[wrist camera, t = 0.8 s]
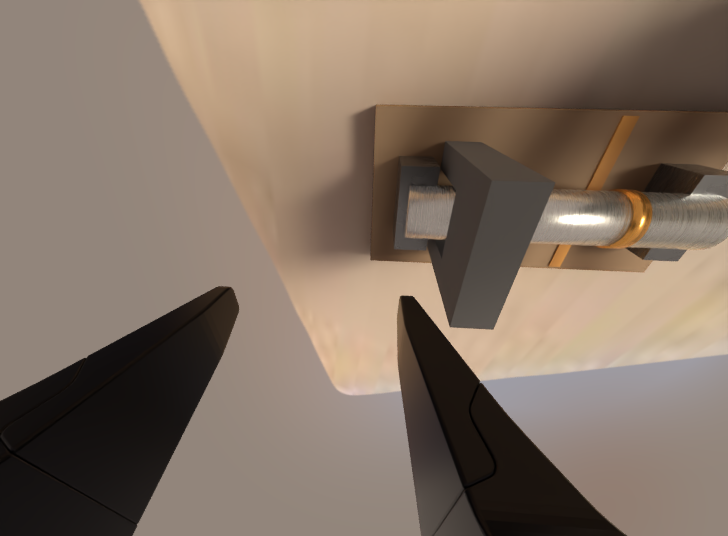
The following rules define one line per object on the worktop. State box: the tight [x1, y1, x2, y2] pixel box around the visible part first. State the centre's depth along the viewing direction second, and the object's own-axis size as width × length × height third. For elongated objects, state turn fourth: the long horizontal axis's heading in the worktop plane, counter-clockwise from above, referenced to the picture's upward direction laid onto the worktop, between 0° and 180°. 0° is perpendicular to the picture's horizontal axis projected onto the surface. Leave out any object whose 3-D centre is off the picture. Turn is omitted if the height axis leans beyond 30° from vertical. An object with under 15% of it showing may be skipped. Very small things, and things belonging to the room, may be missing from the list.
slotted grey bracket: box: [427, 141, 555, 329], centre depth 14 cm, size 2×7×8 cm, turn 179°
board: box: [370, 105, 728, 272], centre depth 17 cm, size 20×10×2 cm, turn 89°
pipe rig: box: [393, 156, 728, 261], centre depth 15 cm, size 17×5×4 cm, turn 89°
